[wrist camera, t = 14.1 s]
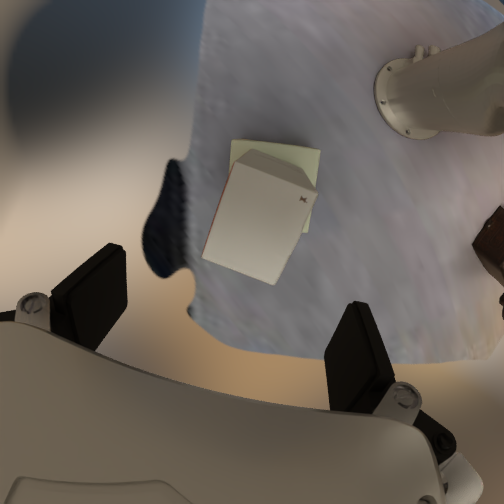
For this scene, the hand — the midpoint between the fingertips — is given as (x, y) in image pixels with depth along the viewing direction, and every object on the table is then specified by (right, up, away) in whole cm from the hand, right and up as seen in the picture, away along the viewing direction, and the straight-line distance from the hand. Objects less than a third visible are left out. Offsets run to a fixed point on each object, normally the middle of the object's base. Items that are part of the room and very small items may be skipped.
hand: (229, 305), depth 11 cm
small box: (+2, +9, +21) cm, 23 cm away
